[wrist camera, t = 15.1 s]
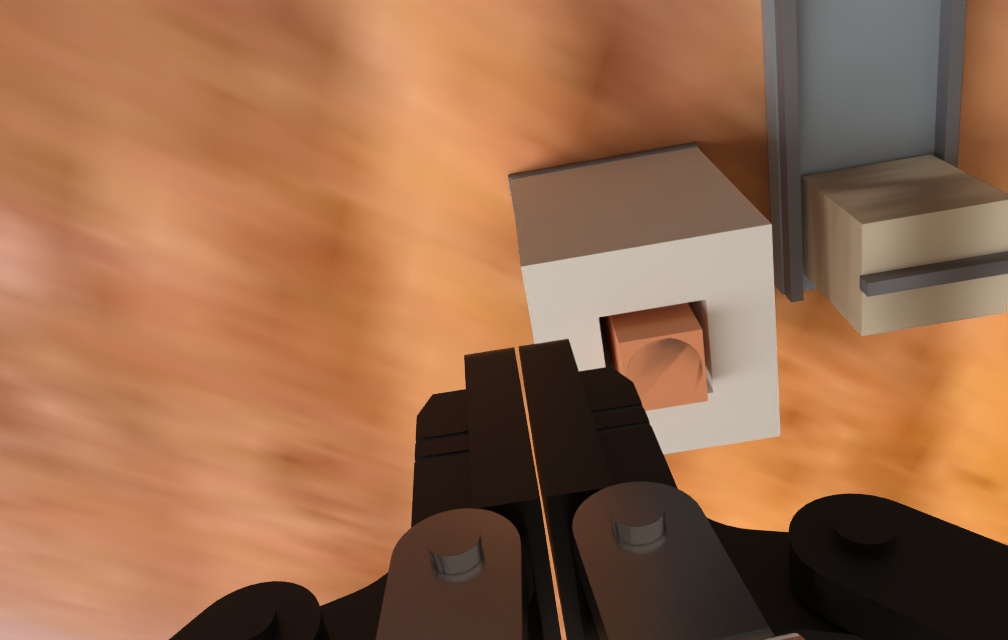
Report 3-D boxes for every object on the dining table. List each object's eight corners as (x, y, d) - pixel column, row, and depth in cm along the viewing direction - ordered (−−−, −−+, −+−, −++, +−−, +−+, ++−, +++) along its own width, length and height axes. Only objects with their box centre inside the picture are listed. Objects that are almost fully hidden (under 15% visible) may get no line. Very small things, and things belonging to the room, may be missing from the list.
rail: (773, 283, 44) (789, 302, 42) (756, -124, 36) (775, -126, 34) (928, 257, 44) (953, 275, 41) (946, -160, 36) (978, -165, 33)
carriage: (802, 274, 42) (866, 345, 35) (799, 176, 40) (868, 231, 33) (928, 252, 42) (1020, 320, 35) (933, 153, 40) (1031, 204, 33)
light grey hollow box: (537, 341, 45) (555, 473, 34) (508, 175, 41) (517, 264, 30) (709, 312, 45) (782, 437, 34) (696, 141, 41) (774, 220, 30)
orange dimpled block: (597, 313, 40) (628, 413, 32) (589, 254, 39) (618, 343, 30) (661, 302, 40) (708, 400, 32) (655, 243, 38) (702, 329, 30)
